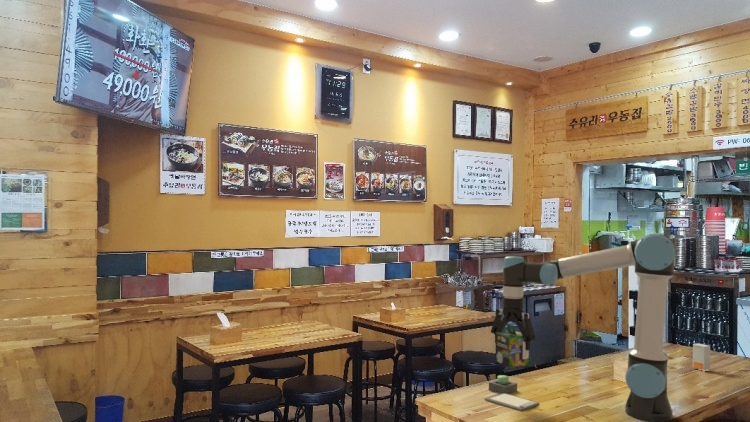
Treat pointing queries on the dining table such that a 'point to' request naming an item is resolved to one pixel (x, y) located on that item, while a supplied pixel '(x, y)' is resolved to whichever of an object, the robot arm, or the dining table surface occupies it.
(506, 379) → the button
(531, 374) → the dining table surface
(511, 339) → the chalk box
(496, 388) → the button housing
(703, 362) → the skincare box
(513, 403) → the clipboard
